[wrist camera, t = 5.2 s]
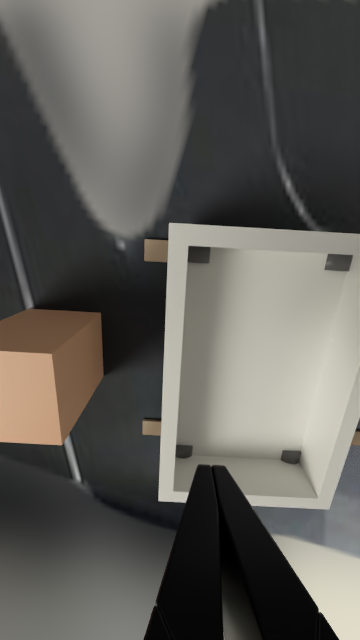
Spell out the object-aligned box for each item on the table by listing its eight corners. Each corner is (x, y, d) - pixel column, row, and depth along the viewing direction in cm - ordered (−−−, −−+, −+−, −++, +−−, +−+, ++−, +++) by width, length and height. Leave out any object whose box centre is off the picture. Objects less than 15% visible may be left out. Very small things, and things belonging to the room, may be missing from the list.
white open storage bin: (351, 239, 13) (419, 237, 9) (297, 452, 18) (328, 509, 14) (173, 229, 13) (168, 222, 9) (163, 445, 18) (158, 501, 14)
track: (439, 256, 14) (442, 256, 14) (370, 444, 18) (372, 446, 18) (145, 239, 14) (144, 238, 14) (143, 432, 18) (142, 434, 18)
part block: (101, 312, 15) (51, 353, 9) (103, 375, 17) (62, 445, 11) (29, 308, 15) (-63, 347, 9) (37, 372, 17) (-39, 439, 11)
